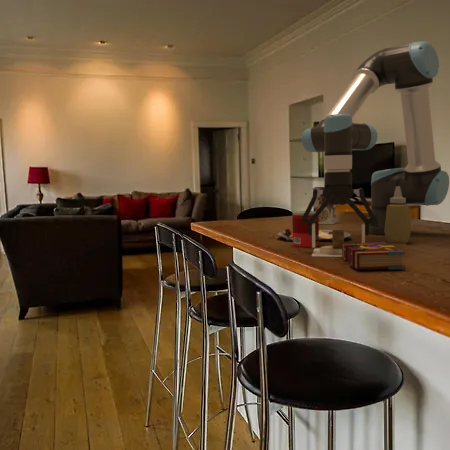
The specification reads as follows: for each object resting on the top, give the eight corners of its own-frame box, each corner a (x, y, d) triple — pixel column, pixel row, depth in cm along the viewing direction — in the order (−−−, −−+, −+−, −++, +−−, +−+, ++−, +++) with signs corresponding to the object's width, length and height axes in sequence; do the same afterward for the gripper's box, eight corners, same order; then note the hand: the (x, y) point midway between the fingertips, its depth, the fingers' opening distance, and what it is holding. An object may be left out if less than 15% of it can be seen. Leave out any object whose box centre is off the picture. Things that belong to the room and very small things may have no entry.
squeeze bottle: (397, 245, 156) (398, 187, 154) (378, 242, 163) (378, 186, 161) (416, 243, 159) (417, 185, 157) (397, 240, 166) (397, 185, 165)
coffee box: (336, 223, 224) (336, 186, 222) (333, 224, 218) (333, 187, 216) (316, 222, 228) (316, 186, 226) (312, 224, 222) (312, 187, 220)
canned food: (318, 249, 152) (318, 213, 151) (291, 249, 154) (291, 213, 153) (319, 245, 160) (318, 210, 159) (293, 245, 161) (293, 211, 160)
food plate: (266, 236, 183) (266, 227, 183) (321, 233, 192) (322, 223, 191) (302, 247, 160) (302, 236, 160) (363, 243, 169) (363, 232, 168)
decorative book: (356, 271, 119) (356, 250, 118) (339, 259, 135) (339, 240, 134) (404, 270, 119) (405, 249, 118) (382, 257, 135) (382, 239, 134)
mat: (363, 250, 148) (363, 248, 148) (364, 259, 135) (364, 256, 135) (314, 250, 151) (314, 248, 151) (311, 258, 138) (311, 256, 138)
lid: (356, 249, 147) (356, 228, 146) (356, 255, 137) (357, 232, 136) (321, 249, 149) (320, 228, 148) (319, 255, 139) (319, 232, 139)
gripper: (384, 170, 141) (383, 245, 144) (294, 172, 147) (295, 244, 149) (386, 170, 134) (385, 249, 136) (291, 172, 140) (292, 248, 142)
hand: (338, 247), depth 143 cm, fingers open, 13 cm apart
